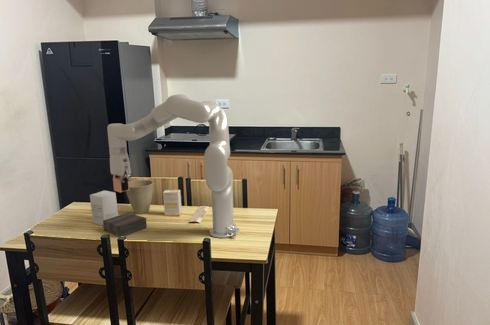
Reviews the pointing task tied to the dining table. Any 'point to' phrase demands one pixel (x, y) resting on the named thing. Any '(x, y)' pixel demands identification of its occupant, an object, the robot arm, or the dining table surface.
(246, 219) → the dining table surface
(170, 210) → the supplement box
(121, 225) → the black plinth
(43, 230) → the dining table surface
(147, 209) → the plant pot
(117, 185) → the terracotta block
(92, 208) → the supplement box
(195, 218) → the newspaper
